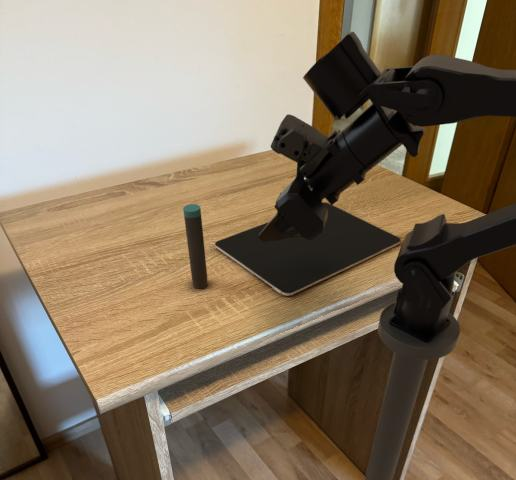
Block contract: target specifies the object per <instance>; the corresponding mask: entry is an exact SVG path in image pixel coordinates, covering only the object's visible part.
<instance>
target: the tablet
mask: <svg viewBox="0 0 516 480" xmlns="http://www.w3.org/2000/svg"><path fill="white" fill-rule="evenodd" d="M322 203H323V204H324V205H325V207H326V208H327V209H328V215H327V221H326V224H325V227H324V230H323V232H322V233H321V234H319V235H318V236H317V237H315V238H314V239H313V240H307V239H305V238H303V237H297V238H288V239H281V240H275V241H270V242H262V241H261V240H260V239H259V238H258V236H259V234H260V233H261V232H262V230H263V229H264V228H265V227H266V225H267V224H268V223H269V222H270V221H267V222H265V223H262V224H259V225H257V226H255V227H251V228H249V229H247V230H242V231H240V232H238V233H236V234H233V235H230V236H228V237H224V238H222V239H219V240H217V241H215V242H214V246H215V248H216V249H217V250H219V252H221V253H223V255H225V256H227V257H228V258H230V259H231V260H233V261H234V262H235V263H237V264H238V265H239V266H241V267H243V268H244V269H245V270H247V271H248V272H250V273H251V274H252V275H254V276H256V277H257V278H259V279H260V281H262V282H264V283H265V284H266V285H268V286H270V287H271V288H272V289H273V290H274V291H276V292H277V293H278V294H282V295H283V296H287V297H289V296H293V295H295V294H297V293H300V292H301V291H305V289H308V288H310V287H313V286H314V285H316V284H319V283H321V282H322V281H325V280H327V279H329V278H331V277H333V276H335V275H338V274H339V273H341V272H344V271H346V270H348V269H350V268H352V267H354V266H356V265H358V264H361V263H363V262H365V261H367V260H369V259H371V258H373V257H375V256H377V255H379V254H381V253H383V252H386V251H388V250H390V249H392V248H393V247H394V248H395V247H396V246H398V245H400V244H401V241H402V240H401V238H400V237H398V236H396V235H394V234H392V233H390V232H389V231H386V230H384V229H383V228H380V227H378V226H376V225H374V224H372V223H369V221H365V220H363V218H362V219H361V218H359V217H358V216H356V215H353V214H351V213H350V212H348V211H345V210H343V209H341V208H339V207H336V206H335V205H334V204H333V205H331V204H330V203H329V202H323V201H322Z"/></svg>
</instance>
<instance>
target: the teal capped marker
mask: <svg viewBox="0 0 516 480" xmlns="http://www.w3.org/2000/svg"><path fill="white" fill-rule="evenodd" d="M183 217H184V218H183V219H184V224H185V225H184V226H185V235H186V243H187V250H188V257H189V258H188V259H189V266H190V274H191V280H192V281H191V282H192V286H193V288H194V289H197V290H203V289H205V288H207V287H208V283H209V282H208V269H207V260H206V249H205V239H204V231H203V229H204V228H203V220H202V210H201V205H199V204H196V203H190V204H186V205H184V206H183Z"/></svg>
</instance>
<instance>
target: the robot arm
mask: <svg viewBox="0 0 516 480" xmlns="http://www.w3.org/2000/svg"><path fill="white" fill-rule="evenodd" d="M302 79H303V80H304V81H305V83H306V85H308V87H309V88H310V89H311V91H312V92H313V93H314V95H315V97H317V99H318V100H319V101H320V102H321V104H322V105H323V106H324V108H325V109H326V110H327V112H328V113H329V114H330V115H331V117H332V118H338V120H340V119H341V118H342V117H344V118H345V119H346V120H347V119H349V118H350V117H351V116H352V115H353V114H354V113H356V112H357V111H358V110H359V109H361V108H362V106H364V105H365V104H366V102H368V101H370V102H371V104H370V105H369V106H368V107H367V108H366V109H365V110H364V111H363V112H361V113H360V114H359V115H358V116H357V117H356V118H355V119H353V120H352V121H351V122H350V123H349V124H347V125H346V127H345V128H343V129H342V130H341V129H338V130H333V132H331V133H330V134H329V135H328V136H327V135H325V134H324V133H322V132H321V131H319V130H318V129H317V128H316V127H314V126H313V125H311V124H309V123H307V122H305V121H303V120H302V119H301V118H298V117H297V116H295V115H292V114H286V115H285V116H284V118H283V119H282V121H281V122H280V124H279V126H278V129H277V130H276V133H275V135H274V136H273V139H272V140H271V144H270V149H271V150H272V151H273V152H275V153H276V154H277V155H282V156H283V157H286V158H287V159H289V160H291V161H293V162H295V163H296V176H295V177H294V178H293V180H292V181H291V182H290V183H289V184H288V185H287V186H286V187H285V188H284V189H283V190H282V191H281V192H280V193H279V195H278V197H277V199H276V200H275V204H274V209H276V213H275V214H274V216H273V217H272V218H271V219H270V220H269V221H268V222H269V223H268V224H267V225H266V227H265V228H264V229H263V230H262V232H261V233H260V234H259V236H258V238H259V239H260V240H261V241H262V242H270V241H275V240H281V239H288V238H297V237H303V238H305V239H307V240H313V239H314V238H315V237H317V236H318V235H319V234H321V233H322V232H323V230H324V227H325V224H326V221H327V215H328V209H327V208H326V207H325V205H324V204H323V203H322V202H323V200H324V199H326V201H327V203H329V204H331V205H333V206H334V204H335V203H337V202H338V201H339V198H340V195H341V194H342V193H343V192H344V191H346V190H347V189H348V188H350V187H351V186H352V185H353V184H354V183H355V184H356V185H357V186H359V185H360V184H361V183H362V182H364V181H365V179H366V175H367V173H368V172H370V171H371V170H372V169H374V168H375V167H376V166H377V165H378V164H380V163H381V162H382V161H384V160H385V159H386V158H388V157H389V156H390V155H392V154H393V153H394V152H395V151H396V150H398V149H399V148H400V147H401V146H403V147H404V148H405V150H406V151H407V152H408V154H409V155H410V157H412V158H417V156H418V155H419V151H420V147H421V140H422V138H423V136H424V134H425V130H426V128H425V127H431V126H432V127H433V126H441V125H443V126H444V125H450V124H457V123H460V122H464V121H468V120H472V119H476V118H483V117H484V118H485V117H505V118H516V69H499V68H494V67H489V66H487V65H486V66H485V65H483V64H481V63H477V62H474V61H472V60H468V59H463V58H458V57H454V56H450V55H445V54H439V53H437V54H431V55H426V56H424V57H423V58H421V59H420V60H419V61H418V62H416V63H415V64H414V65H412V66H410V65H409V66H399V67H389V68H388V67H387V68H384V69H383V70H382V71H380V70H379V67H377V66H376V63H374V61H373V60H372V59H371V57H370V55H369V54H368V53H367V51H366V50H365V48H364V47H363V44H362V41H361V40H360V38H359V37H358V35H357V34H356V33H355V31H349V33H347V34H346V35H345V36H344V37H343V38H342V39H341V40H340V41H339V42H338V43H337V44H336V45H335V46H334V47H333V48H331V50H330V51H328V52H327V53H325V54H324V55H323V56H321V57H320V58H319V59H318V60H317V61H316V62H315V63H313V65H312V66H311V67H310V68H309V70H308V71H306V73H305V74H304V75H303V77H302ZM514 246H516V202H515V203H512V204H510V205H507V206H504V207H502V208H500V209H496V210H494V211H492V212H489V213H487V214H484V215H481V216H479V217H476V218H473V219H471V220H468V221H465V222H460V223H459V222H457V223H455V222H447V218H446V214H445V213H442V214H439V215H437V216H436V217H434V218H432V219H430V220H428V221H425V222H422V223H421V222H420V223H414V226H413V228H412V230H410V231H409V232H408V233H407V234H406V235H405V236H404V238H403V241H402V243H401V245H400V247H399V248H400V249H399V251H398V254H397V256H396V259H395V262H394V264H393V272H394V275H395V277H396V279H397V280H398V281H399V282H400V284H402V285H401V288H400V289H398V291H397V295H396V300H395V302H394V303H395V308H394V314H396V315H395V316H394V317H393V318H391V319H390V320H389V324H390V325H392V326H394V327H396V328H398V329H400V330H402V331H404V332H406V333H408V334H410V335H412V336H414V337H415V338H417V339H419V340H421V341H423V342H425V343H429V342H430V341H431V340H432V339H434V338H435V337H436V336H437V335H438V334H439V333H440V332H441V331H443V330H444V329H445V328H446V327H447V326H448V325H449V324H450V322H451V320H450V319H448V318H447V317H448V314H449V313H450V310H451V307H452V305H453V301H454V297H455V294H456V292H455V291H453V289H454V284H455V279H456V273H457V272H458V271H459V270H460V269H462V268H463V267H465V265H467V264H468V263H470V262H472V261H473V260H476V259H478V258H481V257H485V256H487V255H491V254H494V253H497V252H500V251H502V250H505V249H508V248H511V247H514Z"/></svg>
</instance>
